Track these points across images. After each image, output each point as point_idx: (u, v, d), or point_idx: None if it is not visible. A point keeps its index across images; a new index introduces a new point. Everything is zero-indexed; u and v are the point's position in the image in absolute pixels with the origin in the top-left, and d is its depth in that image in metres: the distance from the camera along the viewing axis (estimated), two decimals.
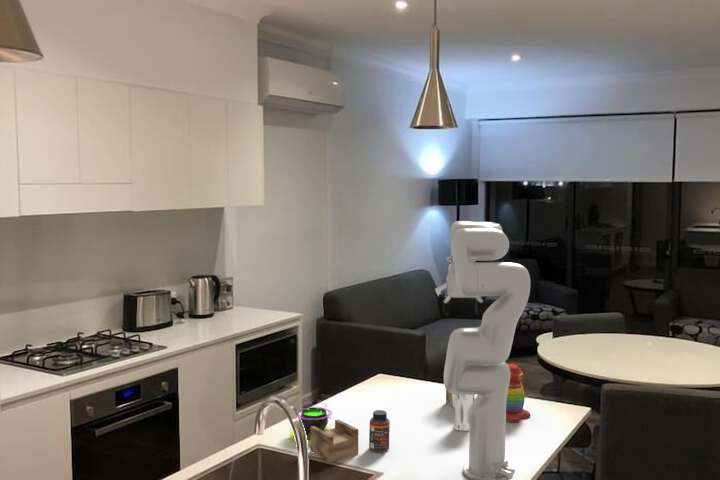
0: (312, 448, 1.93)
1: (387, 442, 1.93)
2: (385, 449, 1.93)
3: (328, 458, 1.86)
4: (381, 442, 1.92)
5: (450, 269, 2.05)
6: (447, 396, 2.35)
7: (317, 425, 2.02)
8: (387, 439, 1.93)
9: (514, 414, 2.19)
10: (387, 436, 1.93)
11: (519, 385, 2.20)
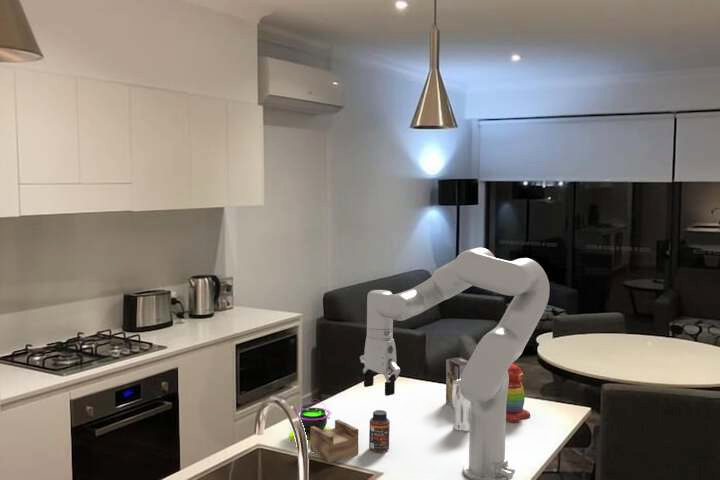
0: (312, 448, 1.93)
1: (387, 442, 1.93)
2: (385, 449, 1.93)
3: (328, 458, 1.86)
4: (381, 442, 1.92)
5: (394, 343, 1.90)
6: (447, 396, 2.35)
7: (316, 425, 2.02)
8: (387, 439, 1.93)
9: (514, 414, 2.19)
10: (387, 436, 1.93)
11: (519, 385, 2.20)
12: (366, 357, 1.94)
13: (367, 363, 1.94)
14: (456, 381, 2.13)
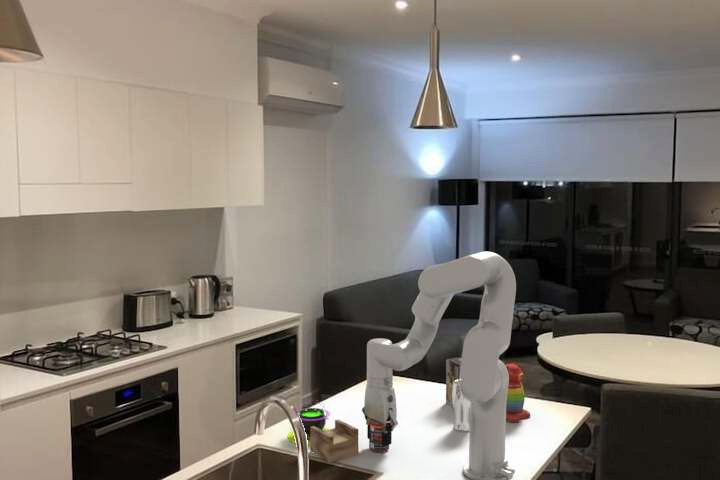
0: (312, 448, 1.93)
1: None
2: (385, 449, 1.93)
3: (328, 458, 1.86)
4: (381, 442, 1.92)
5: (394, 392, 1.92)
6: (447, 396, 2.35)
7: (315, 425, 2.01)
8: None
9: (514, 414, 2.19)
10: None
11: (519, 385, 2.20)
12: (366, 405, 1.95)
13: (367, 411, 1.95)
14: (456, 381, 2.13)
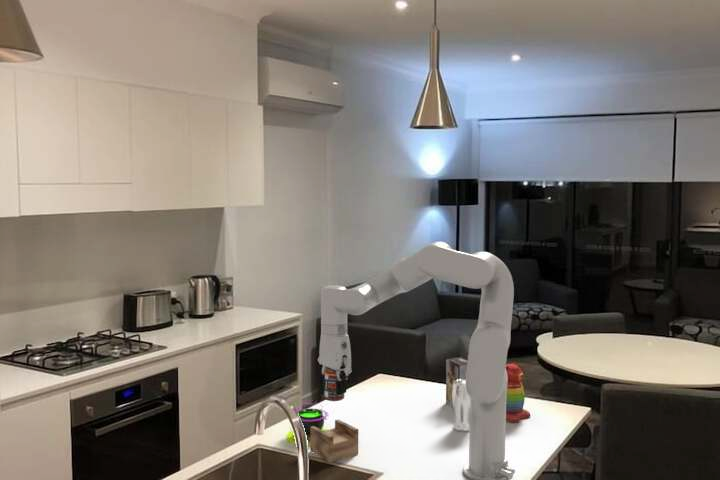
0: (312, 448, 1.93)
1: None
2: (339, 397, 1.89)
3: (328, 458, 1.86)
4: None
5: (348, 339, 1.88)
6: (447, 396, 2.35)
7: None
8: None
9: (514, 414, 2.19)
10: None
11: (519, 385, 2.20)
12: (321, 354, 1.92)
13: (322, 360, 1.91)
14: (456, 381, 2.13)
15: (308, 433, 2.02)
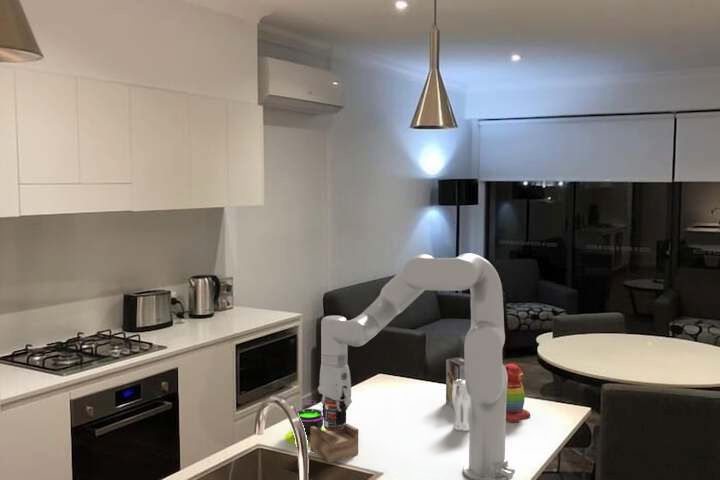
0: (312, 448, 1.93)
1: None
2: (339, 427, 1.90)
3: (328, 458, 1.86)
4: None
5: (348, 369, 1.88)
6: (447, 396, 2.35)
7: None
8: None
9: (514, 414, 2.19)
10: None
11: (519, 385, 2.20)
12: (321, 383, 1.92)
13: (322, 389, 1.92)
14: (456, 381, 2.13)
15: (307, 433, 2.02)
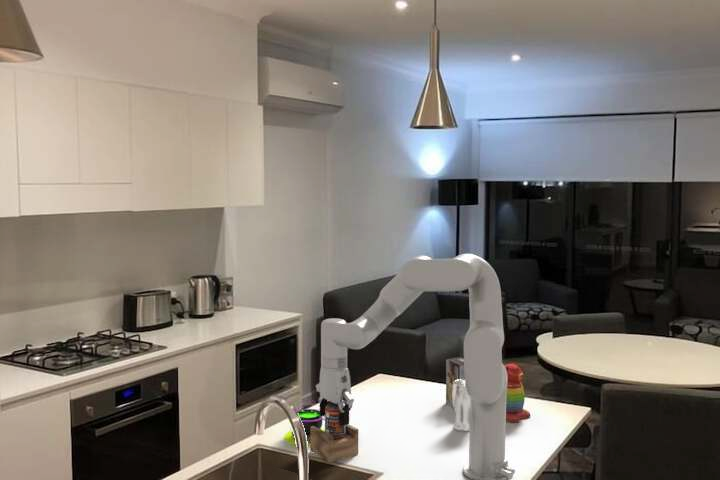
0: (312, 448, 1.93)
1: (342, 429, 1.90)
2: (340, 435, 1.90)
3: (328, 458, 1.86)
4: (336, 429, 1.89)
5: (348, 372, 1.88)
6: (447, 396, 2.35)
7: None
8: None
9: (514, 414, 2.19)
10: None
11: (519, 385, 2.20)
12: (321, 386, 1.92)
13: (322, 392, 1.92)
14: (456, 381, 2.13)
15: (306, 434, 2.01)
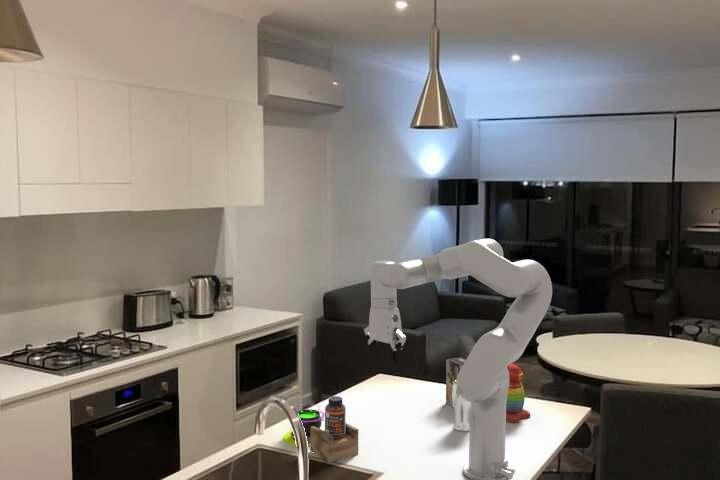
0: (312, 448, 1.93)
1: (342, 429, 1.90)
2: (340, 435, 1.90)
3: (328, 458, 1.86)
4: (336, 429, 1.89)
5: None
6: (447, 396, 2.35)
7: None
8: (342, 426, 1.90)
9: (514, 414, 2.19)
10: (342, 422, 1.90)
11: (519, 385, 2.20)
12: (371, 328, 1.96)
13: (372, 334, 1.96)
14: (456, 381, 2.13)
15: None
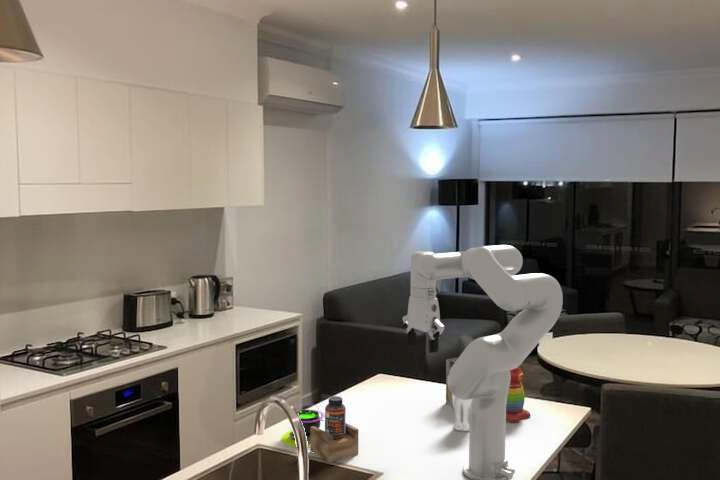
0: (312, 448, 1.93)
1: (342, 429, 1.90)
2: (340, 435, 1.90)
3: (328, 458, 1.86)
4: (336, 429, 1.89)
5: (437, 302, 1.97)
6: (447, 396, 2.35)
7: None
8: (342, 426, 1.90)
9: (514, 414, 2.19)
10: (342, 422, 1.90)
11: (519, 385, 2.20)
12: (410, 317, 2.01)
13: (411, 322, 2.01)
14: None
15: None
